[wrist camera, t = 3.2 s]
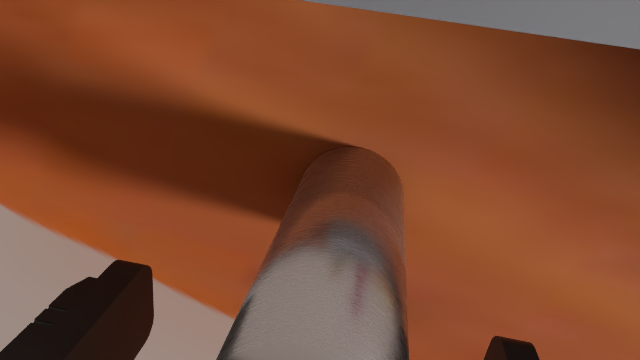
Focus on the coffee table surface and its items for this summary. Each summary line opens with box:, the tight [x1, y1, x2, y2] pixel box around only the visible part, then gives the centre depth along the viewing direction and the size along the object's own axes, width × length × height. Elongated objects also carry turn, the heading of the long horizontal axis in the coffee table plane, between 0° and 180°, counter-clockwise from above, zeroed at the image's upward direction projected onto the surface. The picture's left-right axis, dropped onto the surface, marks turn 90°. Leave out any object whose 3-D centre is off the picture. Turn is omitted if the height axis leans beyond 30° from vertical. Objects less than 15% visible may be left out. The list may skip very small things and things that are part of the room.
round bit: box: [216, 147, 409, 360], centre depth 13 cm, size 4×4×10 cm
